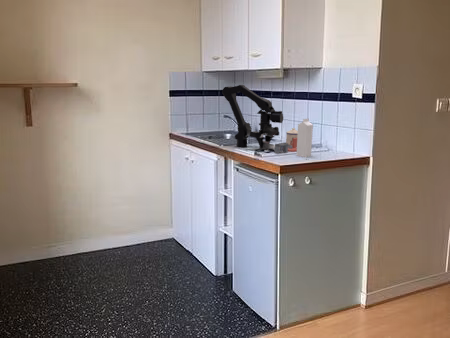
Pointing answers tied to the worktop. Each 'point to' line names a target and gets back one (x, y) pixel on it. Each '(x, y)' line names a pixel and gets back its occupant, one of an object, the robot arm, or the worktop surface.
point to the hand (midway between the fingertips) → (264, 147)
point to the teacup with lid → (291, 136)
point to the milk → (304, 138)
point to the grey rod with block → (268, 145)
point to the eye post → (285, 148)
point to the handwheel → (293, 146)
